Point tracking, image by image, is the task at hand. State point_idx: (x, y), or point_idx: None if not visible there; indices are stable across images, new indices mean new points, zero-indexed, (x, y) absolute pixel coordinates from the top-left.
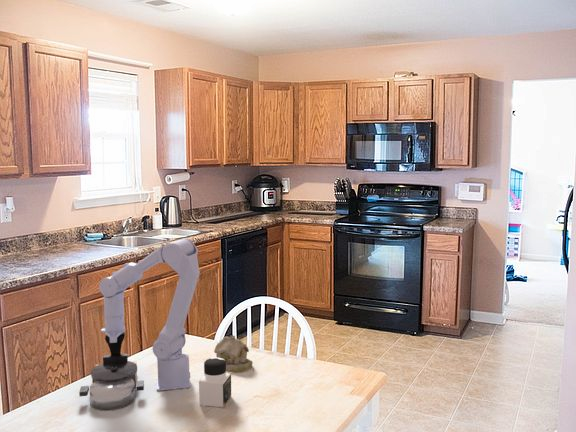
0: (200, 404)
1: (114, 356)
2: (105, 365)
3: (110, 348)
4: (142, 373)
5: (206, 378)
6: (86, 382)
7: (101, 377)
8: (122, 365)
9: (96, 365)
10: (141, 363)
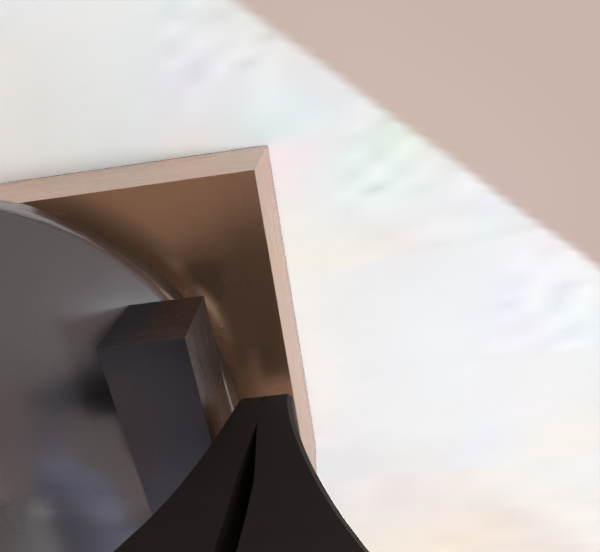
0: None
1: (144, 476)
2: (81, 340)
3: (168, 507)
4: (343, 471)
5: None
6: (187, 65)
7: None
8: (93, 499)
9: (226, 185)
10: (548, 440)
